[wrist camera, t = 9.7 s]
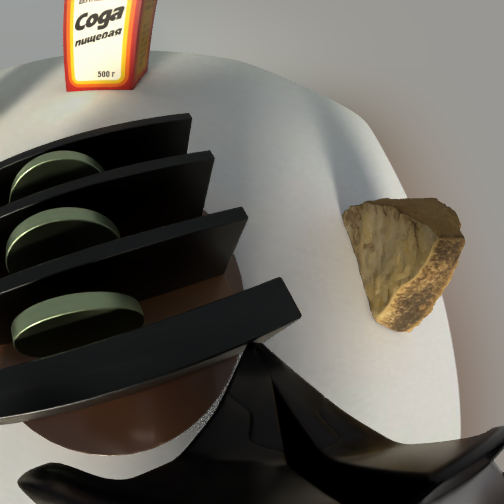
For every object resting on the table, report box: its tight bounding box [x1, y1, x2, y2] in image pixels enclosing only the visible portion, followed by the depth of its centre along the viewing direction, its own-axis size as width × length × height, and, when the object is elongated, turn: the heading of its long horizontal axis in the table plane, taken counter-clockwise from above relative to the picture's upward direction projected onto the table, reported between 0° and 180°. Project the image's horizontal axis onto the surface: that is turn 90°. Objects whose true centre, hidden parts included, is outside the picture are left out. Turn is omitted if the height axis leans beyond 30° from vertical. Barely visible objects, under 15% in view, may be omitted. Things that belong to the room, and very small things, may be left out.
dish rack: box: [0, 113, 302, 425], centre depth 10 cm, size 12×15×7 cm
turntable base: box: [23, 210, 244, 456], centre depth 13 cm, size 18×18×2 cm
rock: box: [342, 198, 465, 332], centre depth 18 cm, size 11×9×10 cm
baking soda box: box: [63, 0, 157, 92], centre depth 19 cm, size 10×6×16 cm
